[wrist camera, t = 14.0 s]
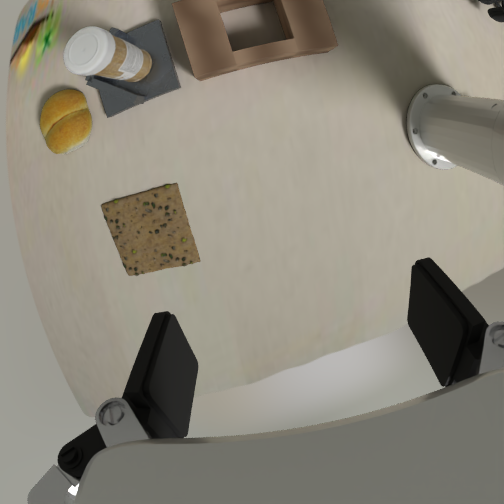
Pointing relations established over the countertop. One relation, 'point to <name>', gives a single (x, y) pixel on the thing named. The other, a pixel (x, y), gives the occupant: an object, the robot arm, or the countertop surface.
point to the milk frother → (495, 9)
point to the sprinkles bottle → (105, 56)
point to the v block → (152, 85)
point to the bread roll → (66, 121)
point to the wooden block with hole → (224, 60)
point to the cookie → (151, 230)
